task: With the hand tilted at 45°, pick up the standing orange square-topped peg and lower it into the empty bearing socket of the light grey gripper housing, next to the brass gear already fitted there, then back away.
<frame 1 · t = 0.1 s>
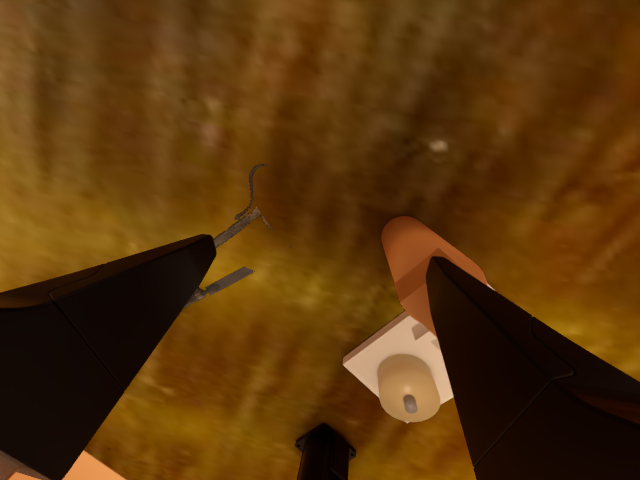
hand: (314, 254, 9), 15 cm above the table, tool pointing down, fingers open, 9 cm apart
orange square-topped peg: (403, 236, 24), on the table
hacksaw: (216, 246, 29), on the table
housing: (432, 347, 26), on the table
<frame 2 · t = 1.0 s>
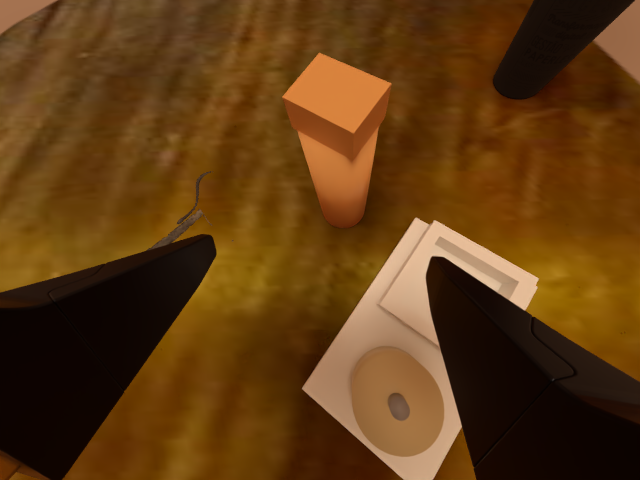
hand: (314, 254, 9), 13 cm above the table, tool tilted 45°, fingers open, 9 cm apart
orange square-topped peg: (343, 208, 24), on the table
hacksaw: (153, 260, 26), on the table
housing: (415, 336, 20), on the table
drinking cup: (516, 83, 25), on the table
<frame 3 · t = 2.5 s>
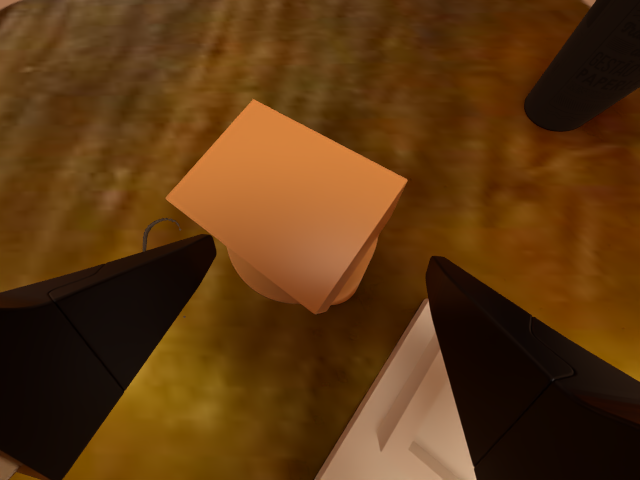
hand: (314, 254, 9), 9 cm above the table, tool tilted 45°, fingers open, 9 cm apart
orange square-topped peg: (331, 275, 18), on the table
housing: (431, 478, 14), on the table
drinking cup: (554, 110, 20), on the table
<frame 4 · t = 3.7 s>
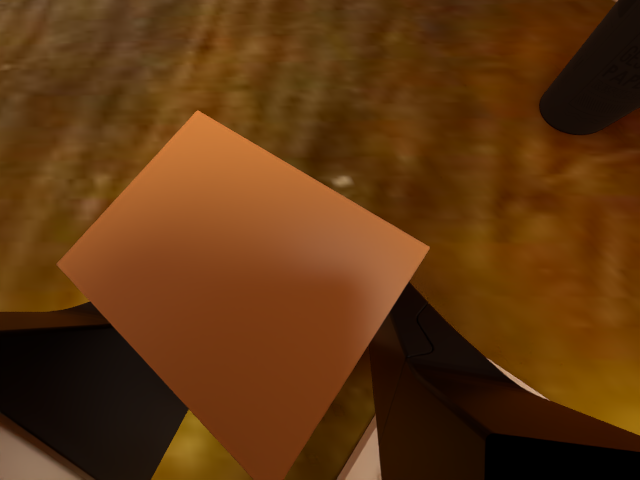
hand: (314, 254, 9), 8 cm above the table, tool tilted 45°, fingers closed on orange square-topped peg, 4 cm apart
orange square-topped peg: (327, 295, 16), on the table, touching gripper
drinking cup: (572, 111, 18), on the table
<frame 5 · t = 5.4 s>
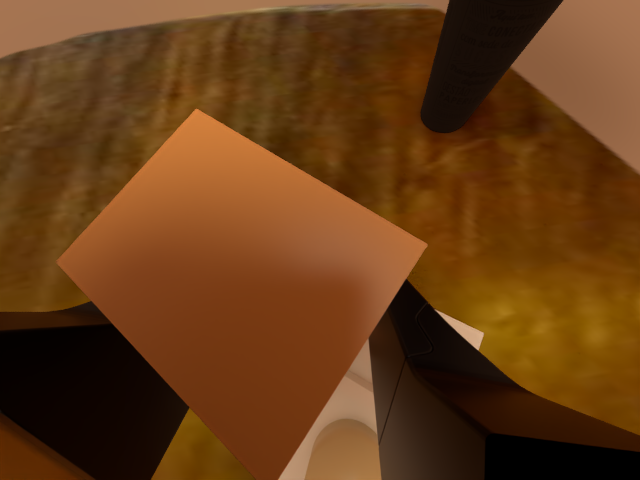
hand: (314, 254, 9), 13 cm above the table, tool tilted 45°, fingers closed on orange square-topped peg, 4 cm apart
orange square-topped peg: (326, 294, 16), point 6 cm above the table, touching gripper
housing: (372, 399, 19), on the table
drinking cup: (442, 116, 26), on the table
when the fingers open (10 cm above the table, at t = 7.2 s): orange square-topped peg drops 1 cm, resting on housing.
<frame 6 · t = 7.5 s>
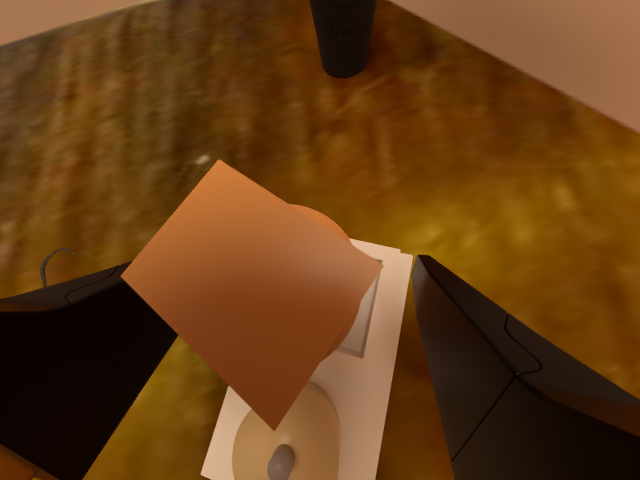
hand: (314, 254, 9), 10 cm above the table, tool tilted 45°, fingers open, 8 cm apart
orange square-topped peg: (327, 296, 18), point 1 cm above the table, touching housing
housing: (315, 354, 18), on the table
drinking cup: (344, 62, 25), on the table
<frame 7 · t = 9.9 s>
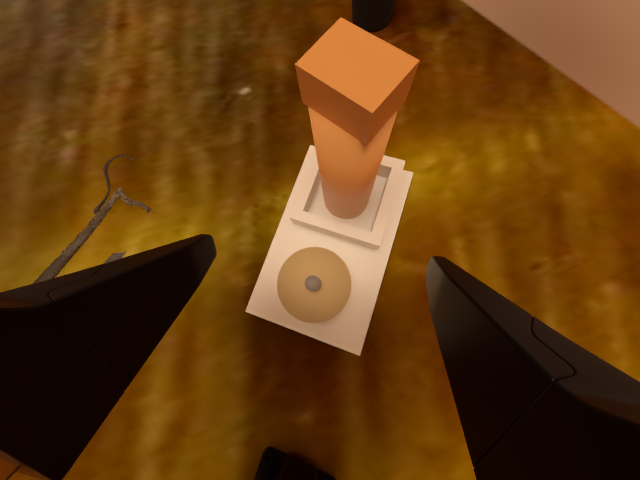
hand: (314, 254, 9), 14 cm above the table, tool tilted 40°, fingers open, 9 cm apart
orange square-topped peg: (346, 197, 23), point 1 cm above the table, touching housing
hacksaw: (79, 254, 26), on the table
housing: (332, 242, 23), on the table
drinking cup: (371, 19, 29), on the table
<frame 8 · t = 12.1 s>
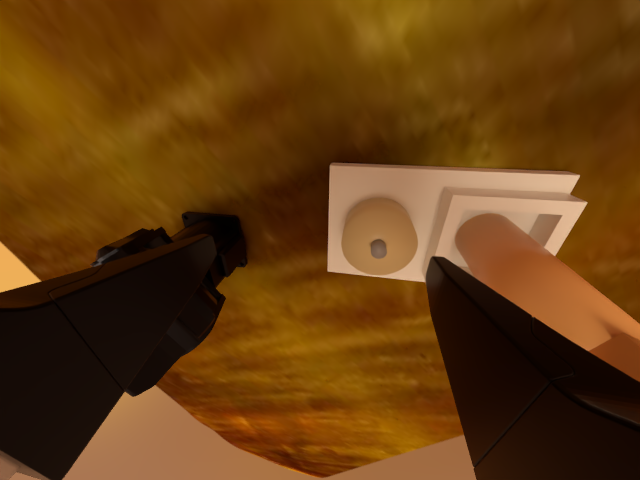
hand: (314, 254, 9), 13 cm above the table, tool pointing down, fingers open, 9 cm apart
orange square-topped peg: (483, 237, 20), point 1 cm above the table, touching housing
housing: (425, 227, 22), on the table
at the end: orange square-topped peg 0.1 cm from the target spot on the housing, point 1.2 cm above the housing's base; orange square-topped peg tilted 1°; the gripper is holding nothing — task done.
